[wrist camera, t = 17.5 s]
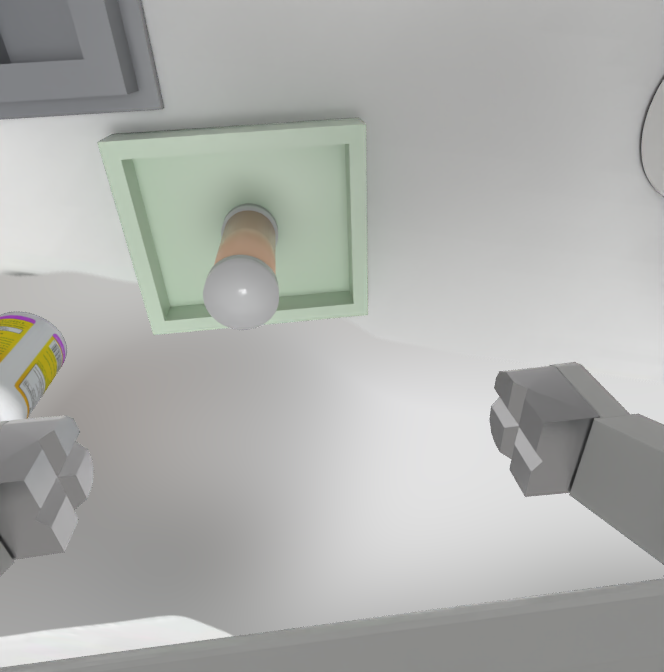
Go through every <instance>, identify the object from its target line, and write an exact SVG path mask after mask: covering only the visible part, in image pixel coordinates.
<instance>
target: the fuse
mask: <svg viewBox="0 0 664 672" xmlns="http://www.w3.org/2000/svg"><path fill="white" fill-rule="evenodd" d="M277 242H278V226H277V223H276V220H275V218H274V217H273V215H272V214H271V213H270V212H269V211H268V210H267V209H265V208H264V207H262V206H260V205H257V204H251V203H246V204H241V205H238V206H236V207H234V208H233V209H232V210H230V211H229V212H228V214H227V215H226V217H225V219H224V222H223V225H222V229H221V242H220V245H219V249H218V253H217V256H216V260H215V263H214V266H213V267H212V268H211V270H210V271H209V273H208V276H207V279H206V282H205V285H204V289H203V300H204V304H205V307H206V309H207V311H208V312H209V314H210V315H211V316H212V317H213V318H214V319H215V320H216V321H217V322H219V323H220V324H222V325H224V326H226V327H229V328H232V329H238V330H248V329H253V328H256V327H259V326H261V325H263V324H265V323H266V322H267V321H269V320H270V319H271V318H272V316H273V315H274V314H275V312H276V310H277V307H278V304H279V284H278V280H277V277H276V245H277Z"/></svg>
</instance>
